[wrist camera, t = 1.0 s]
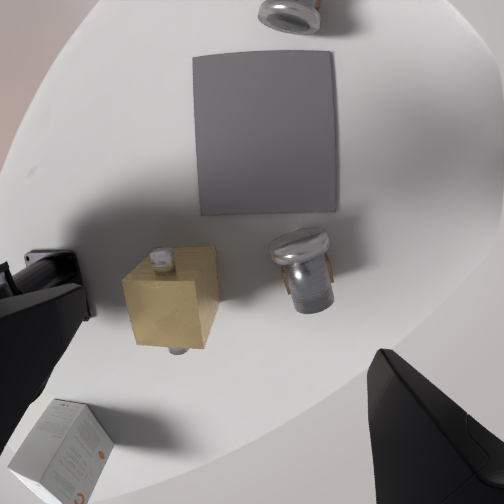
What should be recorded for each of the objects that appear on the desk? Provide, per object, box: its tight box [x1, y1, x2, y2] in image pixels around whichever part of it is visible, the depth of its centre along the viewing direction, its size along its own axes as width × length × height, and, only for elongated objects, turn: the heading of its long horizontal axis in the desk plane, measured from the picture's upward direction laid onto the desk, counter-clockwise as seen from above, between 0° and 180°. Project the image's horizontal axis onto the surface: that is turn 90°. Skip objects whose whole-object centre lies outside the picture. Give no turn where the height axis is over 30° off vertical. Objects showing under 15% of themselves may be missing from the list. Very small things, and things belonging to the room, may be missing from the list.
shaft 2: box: [268, 228, 334, 314], centre depth 19 cm, size 4×4×5 cm
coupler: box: [121, 246, 220, 355], centre depth 20 cm, size 4×7×6 cm, turn 3°
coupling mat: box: [193, 50, 336, 216], centre depth 19 cm, size 9×11×1 cm
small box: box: [7, 399, 114, 504], centre depth 25 cm, size 8×6×13 cm
